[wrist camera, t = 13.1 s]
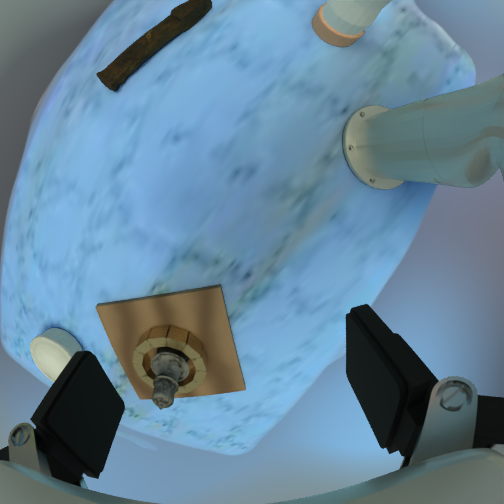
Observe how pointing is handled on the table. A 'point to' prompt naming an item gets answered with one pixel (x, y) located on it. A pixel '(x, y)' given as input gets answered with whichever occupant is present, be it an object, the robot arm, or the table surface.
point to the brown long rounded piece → (153, 41)
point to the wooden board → (184, 316)
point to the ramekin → (53, 351)
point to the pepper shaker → (345, 20)
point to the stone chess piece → (168, 374)
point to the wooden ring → (176, 340)
